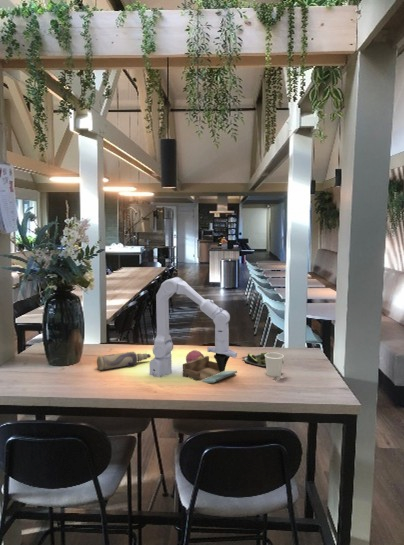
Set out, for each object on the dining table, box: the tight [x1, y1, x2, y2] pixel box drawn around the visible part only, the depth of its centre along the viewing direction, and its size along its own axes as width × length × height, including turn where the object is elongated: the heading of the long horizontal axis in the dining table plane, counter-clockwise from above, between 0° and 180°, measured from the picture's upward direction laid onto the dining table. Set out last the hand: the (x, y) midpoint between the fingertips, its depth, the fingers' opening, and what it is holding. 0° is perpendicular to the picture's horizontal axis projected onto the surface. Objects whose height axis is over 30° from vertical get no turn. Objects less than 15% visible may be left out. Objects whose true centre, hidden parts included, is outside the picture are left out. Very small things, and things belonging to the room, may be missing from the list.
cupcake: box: [185, 349, 205, 363], centre depth 201 cm, size 9×8×12 cm
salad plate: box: [241, 352, 268, 369], centre depth 213 cm, size 19×18×5 cm
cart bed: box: [182, 355, 222, 382], centre depth 191 cm, size 18×10×6 cm, turn 138°
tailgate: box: [200, 370, 238, 383], centre depth 185 cm, size 16×1×8 cm
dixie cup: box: [264, 352, 285, 381], centre depth 190 cm, size 8×8×10 cm
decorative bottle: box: [96, 351, 151, 371], centre depth 207 cm, size 26×8×7 cm, turn 119°
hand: (221, 371), depth 184 cm, fingers closed
